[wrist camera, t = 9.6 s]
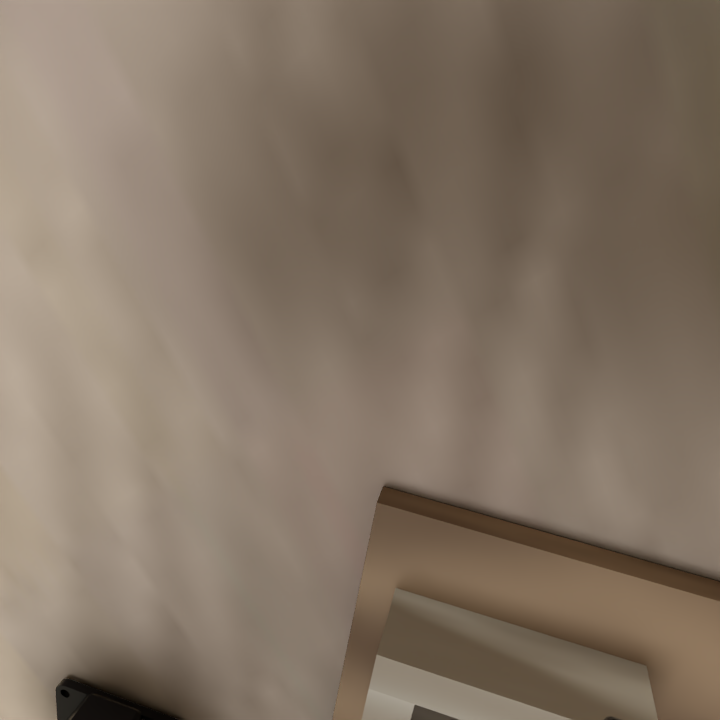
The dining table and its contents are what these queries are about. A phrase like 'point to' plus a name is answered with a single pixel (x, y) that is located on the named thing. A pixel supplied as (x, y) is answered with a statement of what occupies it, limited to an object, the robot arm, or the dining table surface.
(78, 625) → the dining table surface
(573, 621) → the board
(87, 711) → the robot arm
